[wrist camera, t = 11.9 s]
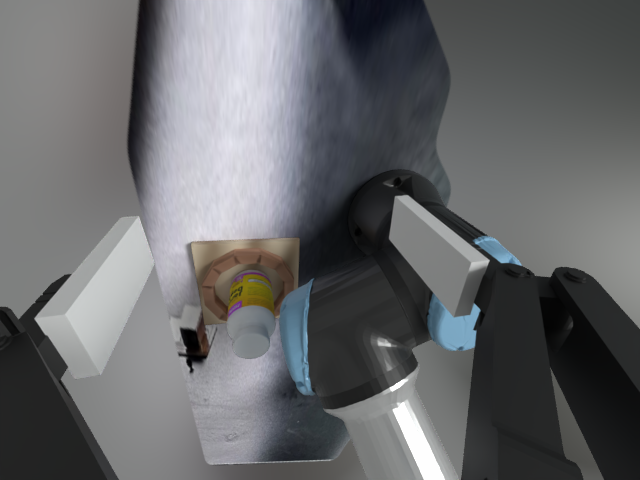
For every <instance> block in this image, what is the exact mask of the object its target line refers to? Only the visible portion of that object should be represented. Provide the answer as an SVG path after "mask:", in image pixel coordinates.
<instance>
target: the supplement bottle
mask: <svg viewBox="0 0 640 480" xmlns="http://www.w3.org/2000/svg"><path fill="white" fill-rule="evenodd" d="M275 325H276V323H275V312H274V301H273V290H272V283H271V280H270V278H269V277H268V276H267V275H266V274H265V273H263V272H261V271H258V270H245V271H243V272H240V273H239V274H237V275H236V276H235V277H234V278H233V280H232V282H231V286H230V294H229V305H228V316H227V332H228V335H229V336H230V338H231V339H232V340H233V351H234V353H235V354H236V355H237V356H239V357H241V358H245V359H253V358H257V357H260V356H262V355H263V354H265V353H266V352H267V351H268V349H269V346H270V336H271V335H272V334H273V332H274V329H275Z"/></svg>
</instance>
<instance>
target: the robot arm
mask: <svg viewBox="0 0 640 480" xmlns="http://www.w3.org/2000/svg"><path fill="white" fill-rule="evenodd" d="M348 228H349V232H350V235H351V237H352V239H353V240H354V242H355V243H356V245H357V246H358V248H359V249H360V250H361V251H362V252H363V253H365V254H366V255H367V256H364V257H362V258H360V259H358V260H356V261H354V262H352V263H350V264H348V265H345V266H343V267H341V268H339V269H337V270H335V271H333V272H331V273H329V274H326V275H324V276H322V277H320V278H318V279H315V278H313V279H311V280H310V281H309V282H308V283H307V284H305V285H303V286H301V287H299V288H297V289H295V290H293V291H292V292H290V293H289V294H287V295H286V297H285V298H284V299H283V301H282V304H281V308H280V317H279V324H280V335H281V341H282V347H283V351H284V355H285V359H286V363H287V366H288V369H289V372H290V375H291V377H292V379H293V380H294V381H295V383H296V387H297V388H298V390H299V391H300V392H301V393H302V394H304V395H311V396H313V395H315V394H316V393H317V394H318V396H319V398H320V401H321V403H322V406H323V408H324V410H325V412H327V413H329V414H332V415H334V416H336V417H338V418H341V419H342V420H343V421H344V423H345V425H346V428H347V430H348V433H349V435H350V438H351V440H352V443H353V445H354V448H355V450H356V452H357V455H358V457H359V460H360V462H361V465H362V467H363V470H364V472H365V475H366V477H367V480H459V478H458V476H457V474H456V472H455V470H454V468H453V465H452V463H451V461H450V459H449V457H448V455H447V453H446V451H445V449H444V447H443V445H442V443H441V441H440V439H439V437H438V435H437V433H436V430H435V428H434V426H433V424H432V422H431V420H430V418H429V416H428V414H427V412H426V410H425V408H424V406H423V404H422V401H421V399H420V397H419V395H418V393H417V391H416V389H415V380H416V377H417V374H418V371H419V364H418V362H417V360H416V358H415V356H414V354H413V352H412V349H413V348H414V347H416V346H418V345H420V344H422V343H424V342H427V341H429V340H432V339H433V341H434V342H436V344H438V345H440V346H441V347H443V348H444V349H447V350H450V351H455V350H461V351H463V350H467V349H470V348H473V347H475V350H474V360H473V369H472V379H471V389H470V399H469V408H468V418H467V428H466V438H465V448H464V458H463V469H462V477H461V480H583V476H582V473H581V470H580V468H579V467H578V466H577V464H576V463H574V462H572V461H570V460H568V459H566V457H565V455H564V451H563V446H562V439H561V433H560V427H559V420H558V415H557V408H556V402H555V395H554V389H553V383H552V376H551V370H550V367H551V369H552V371H553V373H554V375H555V377H556V380H557V382H558V384H559V386H560V388H561V390H562V392H563V394H564V396H565V398H566V401H567V403H568V405H569V407H570V409H571V411H572V413H573V415H574V417H575V419H576V421H577V424H578V426H579V428H580V430H581V432H582V434H583V436H584V438H585V440H586V442H587V444H588V447H589V449H590V451H591V453H592V455H593V457H594V459H595V461H596V463H597V465H598V468H599V470H600V472H601V474H602V476H603V478H604V480H640V329H639V328H638V327H637V326H636V324H635V323H634V322H633V321H632V320H631V319H630V318H629V317H628V315H627V314H626V313H625V312H624V311H623V310H622V309H621V308H620V306H619V305H618V304H617V303H616V302H615V301H614V300H613V299H612V297H611V296H610V295H609V294H608V293H607V292H606V291H605V290H604V289H603V287H602V286H601V285H600V284H599V283H598V282H597V281H596V280H595V279H594V278H593V277H592V276H590V275H588V274H587V273H585V272H584V271H581V270H578V269H575V268H569V267H559V268H556V269H555V270H554V272H553V274H552V276H551V277H540V276H535V275H534V273H532V272H531V271H530V270H529V269H527V268H525V267H523V266H522V265H521V264H520V262H519V261H518V259H517V258H516V257H515V256H513V255H512V254H511V253H510V252H509V251H508V250H506V249H505V248H504V247H503V246H502V245H501V244H499V242H498V241H497V240H496V239H494V238H492V237H490V236H487V235H486V234H485V233H483V232H482V231H480V230H479V229H477V228H476V227H474V226H473V225H471V224H470V223H468V222H467V221H465V220H464V219H462V218H461V217H459V216H458V215H457V214H455V213H454V212H452V211H451V210H449V209H448V208H446V206H445V204H444V202H443V200H442V199H441V197H440V195H439V193H438V191H437V189H436V188H435V186H434V185H433V184H432V183H431V182H430V181H429V180H428V179H426V178H424V177H423V176H421V175H420V174H418V173H416V172H413V171H409V170H392V171H388V172H385V173H382V174H380V175H378V176H376V177H374V178H373V179H371V180H370V181H369V182H367V183H366V184H365V185H364V186H363V187H362V188H361V189H360V190H359V192H358V193H357V194H356V196H355V198H354V199H353V201H352V204H351V206H350V209H349V214H348ZM154 264H155V263H154V260H153V257H152V254H151V251H150V248H149V245H148V242H147V239H146V236H145V233H144V230H143V227H142V224H141V221H140V218H139V216H133V217H121V218H120V219H119V221H118V222H117V223H116V224H115V225H114V226H113V227H112V228H111V230H110V231H109V232H108V233H107V234H106V235H105V237H104V238H103V239H102V240H101V241H100V242H99V244H98V245H97V246H96V247H95V248H94V249H93V251H92V252H91V253H90V254H89V255H88V256H87V258H86V259H85V260H84V261H83V262H82V264H81V265H80V266H79V267H78V268H77V269H76V270H75V272H74V273H73V274H68V275H64V276H63V277H61V278H60V279H58V280H57V281H55V282H54V283H52V284H51V285H50V286H49V287H48V288H47V289H46V290H45V291H44V292H43V295H41V296H40V297H39V298H38V299H37V300H36V301H35V302H36V303H34V304H33V305H32V306H31V307H30V308H29V309H28V310H27V311H26V312H25V313H24V314H23V315H22V316H21V318H20V319H19V320H18V318H17V317H16V316H15V314H14V313H13V312H12V310H11V309H9V308H8V307H0V480H119V479H118V478H117V476H116V474H115V472H114V471H113V469H112V467H111V465H110V464H109V462H108V460H107V458H106V457H105V455H104V453H103V451H102V450H101V448H100V446H99V445H98V443H97V441H96V439H95V438H94V436H93V434H92V432H91V430H90V429H89V427H88V425H87V423H86V422H85V420H84V418H83V416H82V415H81V413H80V411H79V409H78V408H77V406H76V404H75V402H74V401H73V399H72V397H71V395H70V394H69V392H68V390H67V389H66V387H65V385H64V384H63V382H62V381H61V377H62V376H63V374H64V373H65V371H66V369H67V368H68V370H69V371H70V373H71V374H72V376H73V377H74V379H81V378H87V377H93V376H100V375H101V374H102V372H103V370H104V368H105V366H106V364H107V362H108V359H109V357H110V355H111V353H112V351H113V349H114V347H115V345H116V343H117V341H118V339H119V337H120V335H121V332H122V330H123V328H124V326H125V324H126V322H127V320H128V318H129V316H130V314H131V312H132V310H133V308H134V306H135V303H136V301H137V299H138V297H139V295H140V293H141V291H142V289H143V287H144V284H145V283H146V281H147V279H148V277H149V275H150V272H151V270H152V268H153V266H154Z"/></svg>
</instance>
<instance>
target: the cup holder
mask: <svg viewBox="0 0 640 480" xmlns="http://www.w3.org/2000/svg"><path fill="white" fill-rule="evenodd" d="M299 244H300V240H299V237H297V238H272V239H248V240H224V241H199V242H192V243H191V249H192V254H193V260H194V266H195V272H196V278H197V284H198V289H199V295H200V301H201V307H202V313H203V319H204V325H211V324H221V323H227V316H228V305H229V294H230V286H231V282H232V280H233V278H234V277H235V276H236V275H237V274H239V273H240V272H243V271H245V270H258V271H261V272H263V273H265V274H266V275H267V276H268V277H269V278H270V280H271V283H272V290H273V301H274V312H275V318H279V317H280V308H281V304H282V301H283V299H284V298H285V297H286V295H287V294H289V293H290V292H292V291H293V290H295V289H297V288H298V270H299Z"/></svg>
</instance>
